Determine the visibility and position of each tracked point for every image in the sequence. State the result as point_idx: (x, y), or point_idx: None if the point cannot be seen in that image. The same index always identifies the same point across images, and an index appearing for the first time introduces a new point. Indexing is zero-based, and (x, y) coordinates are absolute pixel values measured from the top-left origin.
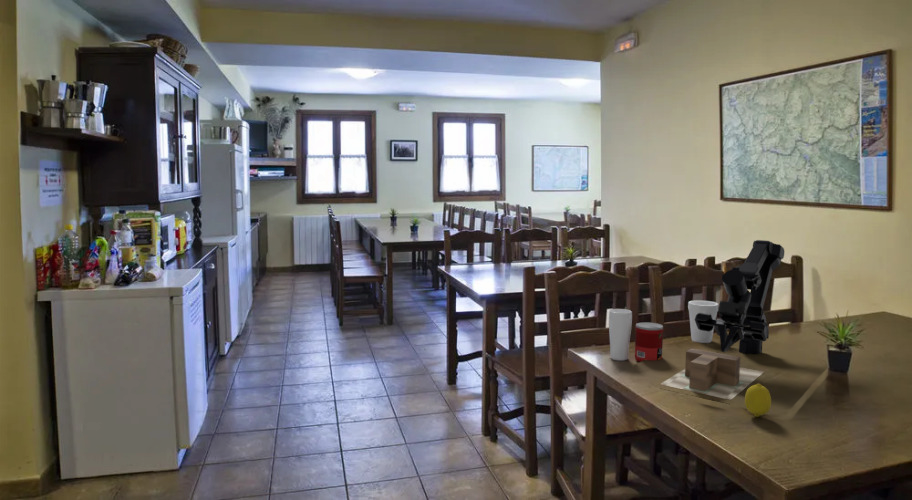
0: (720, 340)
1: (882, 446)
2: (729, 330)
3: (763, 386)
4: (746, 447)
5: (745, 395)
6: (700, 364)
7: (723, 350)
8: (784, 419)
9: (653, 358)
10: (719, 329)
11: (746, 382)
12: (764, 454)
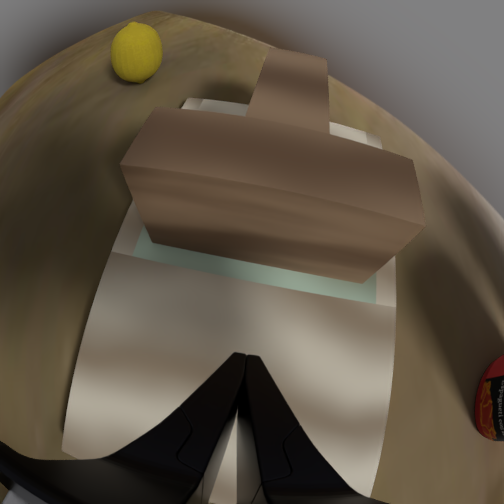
0: (290, 411)
1: (11, 95)
2: (179, 497)
3: (122, 29)
4: (177, 27)
5: (160, 42)
6: (289, 52)
7: (238, 353)
8: (92, 96)
9: (498, 365)
10: (364, 501)
11: (123, 257)
12: (159, 26)
